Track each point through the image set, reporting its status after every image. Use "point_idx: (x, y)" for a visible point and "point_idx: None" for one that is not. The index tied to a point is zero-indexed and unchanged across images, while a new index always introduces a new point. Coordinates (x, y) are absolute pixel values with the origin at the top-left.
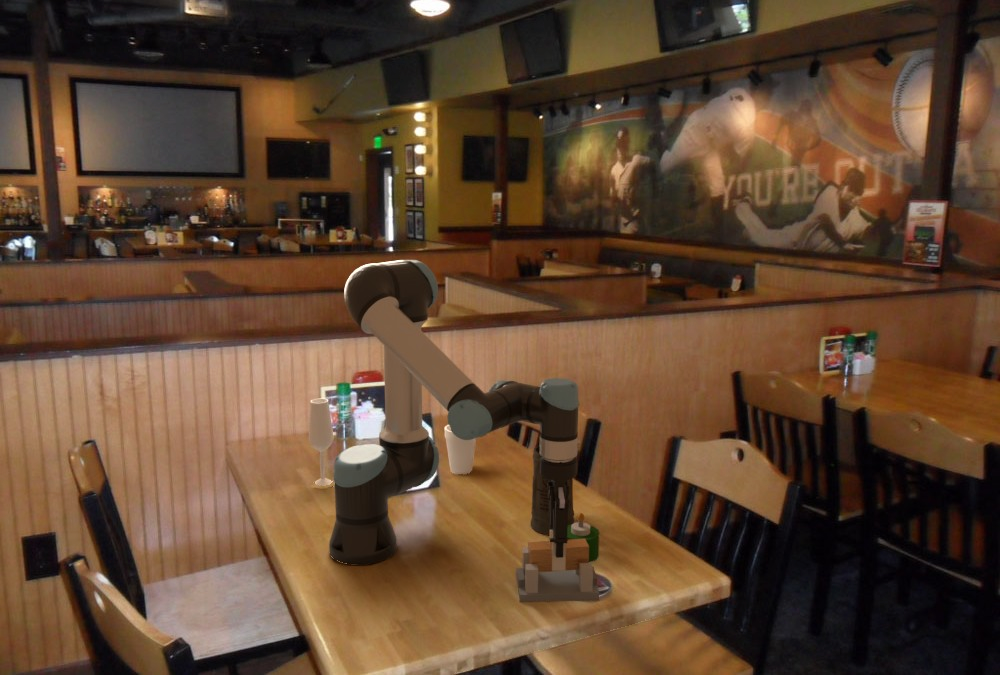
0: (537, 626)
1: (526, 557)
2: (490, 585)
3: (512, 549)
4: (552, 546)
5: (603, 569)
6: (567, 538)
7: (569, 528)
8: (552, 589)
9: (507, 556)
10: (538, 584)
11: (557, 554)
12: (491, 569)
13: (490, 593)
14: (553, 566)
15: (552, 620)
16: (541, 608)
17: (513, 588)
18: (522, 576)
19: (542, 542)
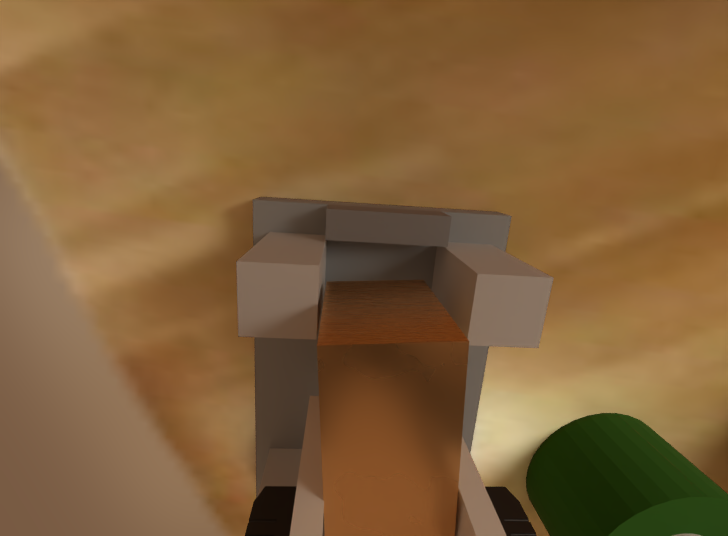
0: (67, 245)
1: (464, 283)
2: (419, 72)
3: (720, 224)
4: (290, 533)
5: None
6: (634, 505)
7: (725, 530)
8: (293, 349)
9: (666, 192)
10: None
11: (250, 517)
12: (568, 97)
13: (344, 63)
14: (308, 418)
15: (118, 309)
16: (207, 280)
17: (377, 183)
18: (357, 233)
19: (440, 449)
